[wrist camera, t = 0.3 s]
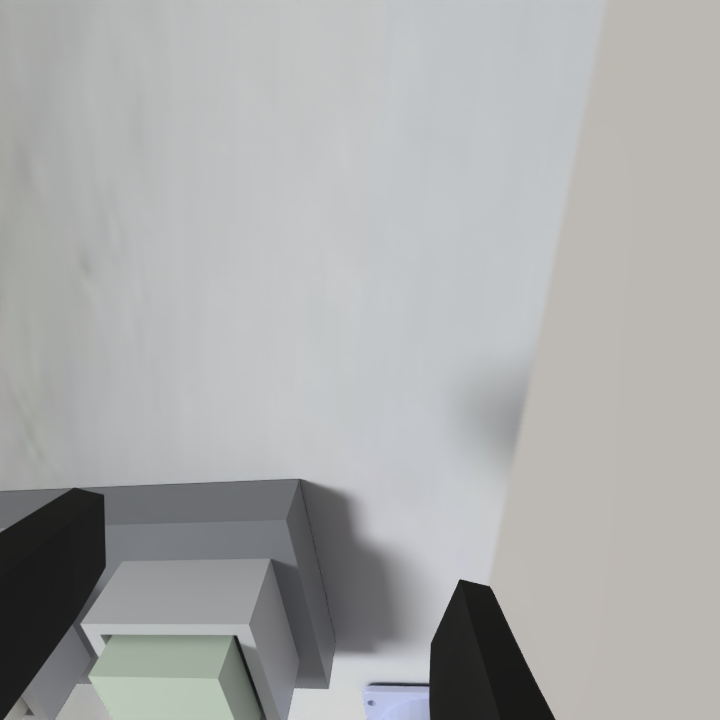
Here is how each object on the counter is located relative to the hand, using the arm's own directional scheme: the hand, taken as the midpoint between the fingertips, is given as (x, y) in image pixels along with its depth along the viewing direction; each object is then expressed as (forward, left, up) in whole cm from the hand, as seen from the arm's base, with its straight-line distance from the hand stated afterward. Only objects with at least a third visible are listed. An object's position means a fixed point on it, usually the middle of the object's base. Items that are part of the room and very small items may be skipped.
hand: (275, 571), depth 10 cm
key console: (-11, +13, -10) cm, 20 cm away
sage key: (-11, +7, -5) cm, 14 cm away
